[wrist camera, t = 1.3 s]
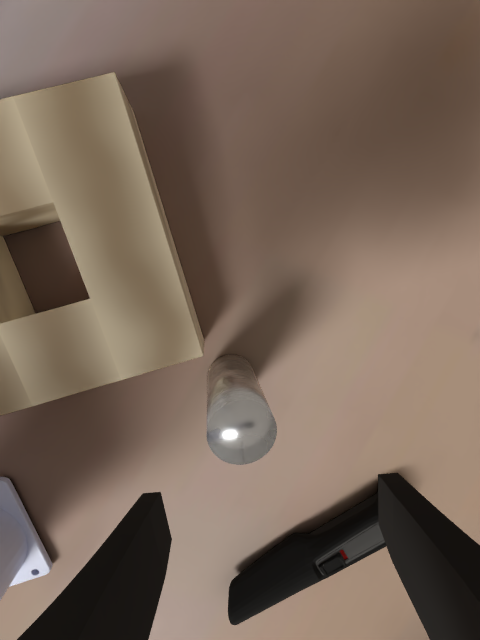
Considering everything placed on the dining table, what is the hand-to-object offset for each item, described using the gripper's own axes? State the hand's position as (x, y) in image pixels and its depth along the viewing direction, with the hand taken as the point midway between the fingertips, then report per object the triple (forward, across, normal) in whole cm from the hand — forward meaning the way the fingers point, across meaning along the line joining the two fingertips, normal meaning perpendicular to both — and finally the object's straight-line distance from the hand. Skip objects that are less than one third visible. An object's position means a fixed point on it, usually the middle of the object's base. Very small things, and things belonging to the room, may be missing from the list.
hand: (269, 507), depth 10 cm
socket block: (+10, +11, -9) cm, 17 cm away
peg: (+11, +2, 0) cm, 11 cm away
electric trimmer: (+11, -3, +15) cm, 19 cm away
